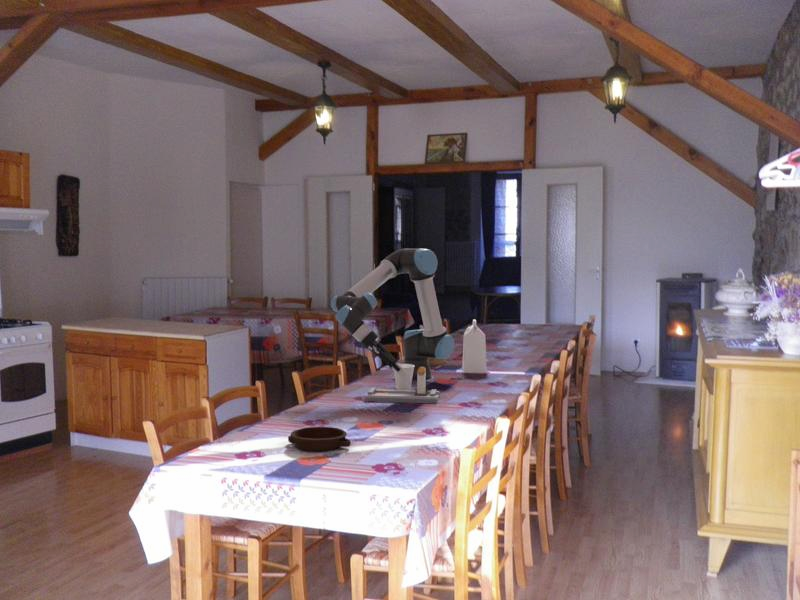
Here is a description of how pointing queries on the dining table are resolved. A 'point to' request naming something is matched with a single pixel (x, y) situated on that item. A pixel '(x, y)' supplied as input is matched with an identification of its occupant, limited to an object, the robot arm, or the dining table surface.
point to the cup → (407, 380)
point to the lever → (421, 382)
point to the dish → (319, 438)
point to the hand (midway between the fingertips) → (405, 375)
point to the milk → (474, 350)
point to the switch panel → (401, 396)
